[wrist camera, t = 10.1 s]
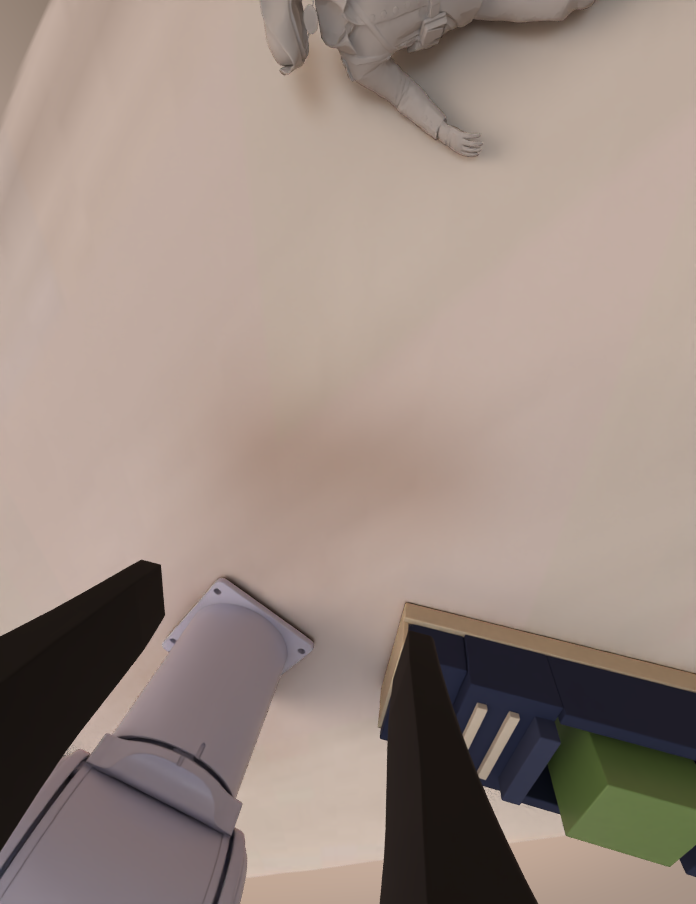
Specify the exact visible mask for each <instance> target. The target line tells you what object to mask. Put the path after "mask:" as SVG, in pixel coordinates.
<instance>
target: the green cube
mask: <svg viewBox="0 0 696 904" xmlns="http://www.w3.org/2000/svg"><path fill="white" fill-rule="evenodd" d="M555 725H556V728H557V731H558V735H559V738H560V741H561V744H560V746H559V747H558V749H557V750H556V752H555V753H554V755H553V756H552V758H551V759H550V761H549V762H548V768H549V772H550V776H551V780H552V784H553V788H554V791H555V795H556V799H557V803H558V807H559V811H560V815H561V819H562V822H563V826H564V830H565V834H566V836H568V837H571V838H575V839H578V840H581V841H585V842H588V843H591V844H595V845H598V846H601V847H605V848H608V849H611V850H615V851H618V852H621V853H625V854H628V855H631V856H635V857H638V858H641V859H645V860H648V861H651V862H654V863H658V864H661V865H664V866H668V867H670V866H672V865H673V864H674V863H675V862H676V861H677V860H679V859H680V858H681V857H682V856H683V855H685V854H686V853H687V852H688V851H689V850H690V849H692V848H693V847H694V846H695V845H696V764H695V762H694V761H693V760H692V759H688V758H684V757H680V756H677V755H673V754H669V753H666V752H662V751H658V750H655V749H651V748H647V747H644V746H640V745H636V744H632V743H629V742H625V741H621V740H618V739H614V738H610V737H607V736H603V735H599V734H595V733H592V732H588V731H584V730H581V729H577V728H573V727H570V726H566V725H562V724H560V722H559V719H558V717H557V719H556V720H555Z"/></svg>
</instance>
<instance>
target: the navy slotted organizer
mask: <svg viewBox="0 0 696 904" xmlns="http://www.w3.org/2000/svg"><path fill="white" fill-rule="evenodd" d="M408 630H410V631H414V632H418V633H422V634H426V635H429V636H432V638H433V639H434V642H435V647H436V651H437V655H438V659H439V663H440V666H441V670H442V674H443V677H444V680H445V684H446V687H447V690H448V694H449V697H450V700H451V703H452V706H453V709H454V712H455V714H456V717H457V720H458V723H459V726H460V729H461V732H462V735H463V737H464V740H465V743H466V745H467V748H468V751H469V753H470V756H471V758H472V761H473V763H474V766H475V768H476V771H477V773H478V776H479V778H480V781H481V783H482V786H485V787H489V788H492V789H495V790H499V791H500V792H501V799H502V800H503V801H506V802H510V803H513V804H517V805H520V804H521V803H523V804H527V805H530V806H534V807H537V808H540V809H544V810H547V811H551V812H554V813H557V814H560V811H559V807H558V803H557V799H556V795H555V791H554V788H553V784H552V780H551V776H550V772H549V768H548V762H549V761H550V759H551V758H552V756H553V755H554V753H555V752H556V750H557V749H558V747H559V746H560V744H561V741H560V738H559V735H558V731H557V728H556V725H555V720H556V719H557V717H558V719H559V722H560V724H562V725H566V726H570V727H573V728H577V729H581V730H584V731H588V732H592V733H595V734H599V735H603V736H607V737H610V738H614V739H618V740H621V741H625V742H629V743H632V744H636V745H640V746H644V747H647V748H651V749H655V750H658V751H662V752H666V753H669V754H673V755H677V756H680V757H684V758H688V759H692V760H693V761H694V762H695V764H696V674H693V673H689V672H684V671H680V670H676V669H672V668H668V667H664V666H660V665H656V664H652V663H648V662H644V661H640V660H636V659H632V658H628V657H624V656H620V655H616V654H612V653H608V652H604V651H600V650H596V649H592V648H588V647H584V646H580V645H576V644H572V643H568V642H563V641H559V640H555V639H551V638H547V637H543V636H539V635H535V634H531V633H527V632H523V631H519V630H515V629H511V628H507V627H503V626H499V625H495V624H491V623H487V622H483V621H479V620H475V619H471V618H467V617H463V616H459V615H455V614H451V613H447V612H442V611H438V610H434V609H430V608H426V607H422V606H418V605H414V604H410V603H405V607H404V610H403V614H402V617H401V621H400V624H399V628H398V631H397V635H396V638H395V642H394V645H393V649H392V653H391V656H390V660H389V663H388V667H387V670H386V674H385V677H384V681H383V684H382V688H381V696H380V710H379V720H378V728H381V731H380V739H383V740H387V741H388V719H389V709H390V701H391V692H392V684H393V678H394V674H395V671H396V668H397V665H398V662H399V659H400V655H401V652H402V649H403V646H404V643H405V639H406V636H407V633H408ZM680 861H681V863H682V866H683V868H684V870H685V872H686V874H688V875H691V876H695V877H696V845H695V846H694V847H693V848H692V849H690V850H689V851H688V852H687V853H686V854H685V855H683V856H682V857H681V858H680Z"/></svg>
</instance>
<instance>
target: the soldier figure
mask: <svg viewBox="0 0 696 904" xmlns="http://www.w3.org/2000/svg"><path fill="white" fill-rule="evenodd" d="M594 1H595V0H315V5H316V10H315V8H314V7H313V5H311V4H309V5H307V6H306V8H305V10H304V11H303V6H302V0H260V8H261V13H262V16H263V19H264V27H265V34H266V39H267V43H268V46H269V49H270V51H271V53H272V55H273V57H274V58H275V60H276V61H277V63H278V64H280V65H282V66H284V67H282V68H281V69H280V72H281V74H283V75H288V74H290V73H291V72H292V71H294V70H295V69H297V68H299V67H301V66H302V65H303V64H304V62H305V59H306V58H307V56H308V52H309V43H308V38H309V34H314V33H315V32H316V30H317V27H318V21H319V26H320V33H321V38H322V39H323V41H324V42H325V44H326V45H327V46H329V47H331V48H337V49H338V50H339V52H340V55H341V60H342V63H343V65H344V66H345V69H346V71H347V75H348V77H349V79H350V80H351V81H354V80H355V81H357V82H358V83H359V84H361V85H363V86H364V87H366V88H368V89H369V90H372V91H374V92H376V93H377V94H378V95H379V96H380V97H383V98H385V99H387V100H388V101H389V102H390V103H392V104H393V106H394V107H396V108H397V109H398V111H399V112H400V113H401V114H403V115H404V116H406V117H407V118H408V119H410V120H411V121H412V122H414V123H415V124H416V125H417V126H419V127H420V128H422V129H423V130H424V131H426V132H427V133H428V134H429V135H431V136H432V137H433V138H435V139H436V140H437V139H440V140H441V142H442V143H444V144H445V145H447V146H449V147H450V148H451V149H452V150H454V151H455V152H457V153H459V154H461V155H464V156H467V157H473V156H478V155H479V153H477V152H480V151H481V150H482V149H480V148H471V147H468V146H473V147H474V146H481V145H482V144H483V143H482V142H474V141H470V140H466V139H465V138H467V139H470V138H478V137H480V136H481V134H480V133H466V132H464V131H462V130H460V129H458V128H457V127H455V126H450V125H448V124H447V123H446V122H447V120H446V116H445V115H444V113H443V112H442V111H441V110H440V109H439V108H438V107H437V106H436V105H435V104H434V102H432V101H431V100H430V98H429V97H428V96H427V95H426V93H425V91H424V90H423V89H422V88H421V87H420V86H419V85H418V84H417V83H415V82H414V81H413V80H412V79H411V77H410V76H409V75H407V74H406V73H404V72H403V71H402V70H401V68H400V66H399V65H398V64H396V63H395V62H394V61H393V59H392V58H391V56H392V55H393V54H394V53H395V52H396V51H398V50H401V49H402V48H407V52H408V53H409V52H414V51H418V50H422V49H426V48H430V47H433V45H436V44H438V43H439V39H441V38H442V36H443V34H445V33H446V32H447V31H449V30H453V29H454V28H456V27H464V26H466V25H467V24H469V23H470V22H471V21H472V20H473V19H475V20H486V21H511V22H516V23H523V22H530V21H563V20H564V19H565V18H566V17H567V16H568V15H569V14H570V13H571V12H572V11H573V10H575V9H579V10H580V9H581V10H582V9H586V8H588V7H590V6H591V5H592V4H593V3H594ZM313 3H314V0H313ZM316 12H317V13H316ZM317 16H318V17H317ZM307 31H308V35H307Z"/></svg>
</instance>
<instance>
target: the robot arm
mask: <svg viewBox="0 0 696 904" xmlns="http://www.w3.org/2000/svg"><path fill="white" fill-rule="evenodd" d="M164 616H165V610H164V598H163V585H162V573H161V565H160V564H156V563H152V562H148V561H144V560H140V561H138V562H136V563H135V564H133V565H131V566H129V567H127V568H126V569H124V570H122V571H120V572H119V573H117V574H115V575H113V576H112V577H110V578H108V579H106V580H105V581H103V582H101V583H99V584H98V585H96V586H94V587H92V588H91V589H89V590H87V591H85V592H83V593H82V594H80V595H78V596H76V597H74V598H73V599H71V600H69V601H67V602H65V603H64V604H62V605H60V606H58V607H56V608H55V609H53V610H51V611H49V612H47V613H45V614H43V615H41V616H39V617H37V618H35V619H33V620H31V621H29V622H28V623H26V624H24V625H22V626H20V627H18V628H16V629H14V630H12V631H10V632H8V633H6V634H4V635H2V636H0V904H240V901H241V897H242V893H243V888H244V883H245V878H246V872H247V854H246V848H245V837H244V834H243V832H242V831H241V830H239V829H237V828H235V824H236V821H237V819H238V816H239V813H240V810H241V807H242V802H240V801H239V800H237V799H236V796H237V794H238V791H239V788H240V786H241V783H242V780H243V777H244V775H245V772H246V769H247V766H248V764H249V761H250V758H251V756H252V753H253V750H254V747H255V745H256V742H257V739H258V736H259V734H260V731H261V728H262V725H263V723H264V720H265V717H266V715H267V712H268V709H269V706H270V704H271V701H272V698H273V695H274V693H275V690H276V687H277V685H278V682H279V679H280V676H281V675H282V674H284V673H285V672H286V671H287V670H289V669H290V668H291V667H293V666H294V665H295V664H296V663H298V662H299V661H300V660H301V659H303V658H304V657H305V656H306V655H308V654H309V653H310V652H311V651H312V650H313V647H314V643H313V641H312V640H310V639H309V638H308V637H306V636H305V635H303V634H302V633H301V632H299V631H298V630H296V629H295V628H294V627H292V626H291V625H290V624H288V623H287V622H285V621H284V620H283V619H281V618H280V617H278V616H277V615H276V614H274V613H273V612H271V611H270V610H269V609H267V608H266V607H264V606H263V605H262V604H260V603H259V602H258V601H256V600H255V599H253V598H252V597H251V596H249V595H248V594H246V593H245V592H244V591H242V590H241V589H239V588H238V587H237V586H235V585H234V584H232V583H231V582H230V581H228V580H227V579H225V578H219V579H217V580H216V582H215V583H214V584H213V585H212V586H211V587H210V588H209V590H208V591H207V592H206V593H205V594H204V595H203V597H202V598H201V599H200V600H199V601H198V602H197V603H196V605H195V606H194V607H193V608H192V609H191V610H190V611H189V613H188V614H187V615H186V616H185V617H184V618H183V619H182V621H181V622H180V623H179V624H178V625H177V626H176V628H175V629H174V630H173V631H172V632H171V633H170V634H169V636H168V637H167V638H166V639H165V640H164V642H163V643H162V646H163V648H164V649H165V650H166V651H168V652H169V653H168V655H167V656H166V658H165V659H164V660H163V662H162V663H161V665H160V666H159V668H158V669H157V670H156V672H155V673H154V675H153V676H152V678H151V679H150V681H149V682H148V683H147V685H146V686H145V688H144V689H143V691H142V692H141V694H140V695H139V696H138V698H137V699H136V701H135V702H134V704H133V705H132V706H131V708H130V709H129V711H128V712H127V714H126V715H125V717H124V718H123V719H122V721H121V722H120V724H119V725H118V727H117V728H116V729H115V731H114V732H113V734H112V735H111V734H109V733H107V734H105V735H104V737H103V738H102V739H101V741H100V742H99V744H98V745H97V746H96V748H95V749H94V751H93V752H92V753H91V755H90V753H88V752H86V751H85V750H83V749H78V750H76V751H74V752H73V753H72V754H70V755H67V756H65V757H62V756H63V755H64V753H65V752H66V750H67V749H68V748H69V746H70V745H71V744H72V742H73V741H74V740H75V738H76V737H77V735H78V734H79V733H80V731H81V730H82V729H83V728H84V726H85V725H86V724H87V722H88V721H89V720H90V719H91V717H92V716H93V715H94V714H95V712H96V711H97V710H98V708H99V707H100V706H101V705H102V703H103V702H104V701H105V699H106V698H107V697H108V696H109V694H110V693H111V692H112V691H113V689H114V688H115V687H116V685H117V684H118V683H119V682H120V680H121V679H122V678H123V676H124V675H125V674H126V673H127V671H128V670H129V669H130V667H131V666H132V665H133V663H134V662H135V661H136V660H137V658H138V657H139V656H140V654H141V653H142V652H143V650H144V649H145V647H146V646H147V644H148V642H149V641H150V639H151V638H152V636H153V635H154V633H155V631H156V630H157V628H158V626H159V625H160V623H161V621H162V620H163V618H164ZM380 904H538V903H537V901H536V899H535V897H534V895H533V893H532V891H531V889H530V887H529V885H528V883H527V881H526V879H525V878H524V875H523V873H522V871H521V869H520V867H519V865H518V863H517V861H516V859H515V857H514V854H513V852H512V850H511V848H510V846H509V844H508V842H507V840H506V838H505V835H504V833H503V831H502V829H501V827H500V825H499V822H498V820H497V818H496V816H495V814H494V811H493V809H492V807H491V804H490V802H489V800H488V798H487V795H486V793H485V790H484V788H483V786H482V783H481V781H480V778H479V776H478V773H477V771H476V768H475V766H474V763H473V761H472V758H471V756H470V753H469V751H468V748H467V745H466V743H465V740H464V737H463V735H462V732H461V729H460V726H459V723H458V720H457V717H456V714H455V712H454V709H453V706H452V703H451V700H450V697H449V694H448V690H447V687H446V684H445V680H444V677H443V674H442V670H441V666H440V663H439V659H438V655H437V651H436V647H435V642H434V639H433V638H432V636H429V635H426V634H422V633H418V632H414V631H410V630H408V633H407V636H406V639H405V643H404V646H403V649H402V652H401V655H400V659H399V662H398V665H397V668H396V671H395V674H394V678H393V684H392V692H391V701H390V709H389V719H388V746H387V789H386V831H385V850H384V863H383V874H382V886H381V896H380Z"/></svg>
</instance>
